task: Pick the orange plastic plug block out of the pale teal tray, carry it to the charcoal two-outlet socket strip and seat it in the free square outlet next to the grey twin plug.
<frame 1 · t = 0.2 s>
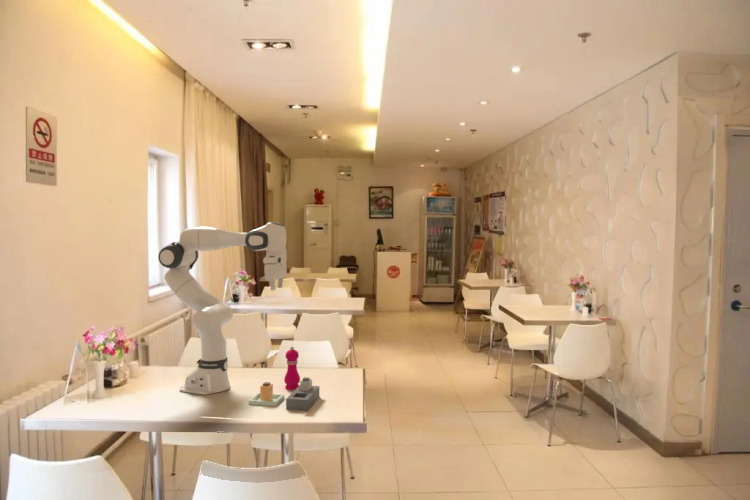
hand: (276, 288, 225), 47 cm above the table, fingers open, 8 cm apart
tray: (266, 402, 213), on the table
twin plug: (306, 400, 216), resting on socket strip
plug: (266, 401, 213), point 1 cm above the table, touching tray
pepper mill: (292, 389, 231), on the table
socket strip: (303, 403, 212), on the table
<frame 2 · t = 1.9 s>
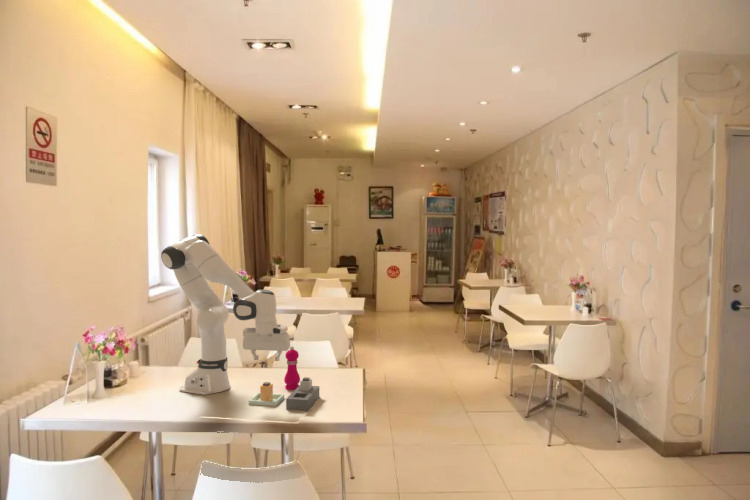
hand: (266, 360, 213), 18 cm above the table, fingers open, 8 cm apart
nothing on the table moved.
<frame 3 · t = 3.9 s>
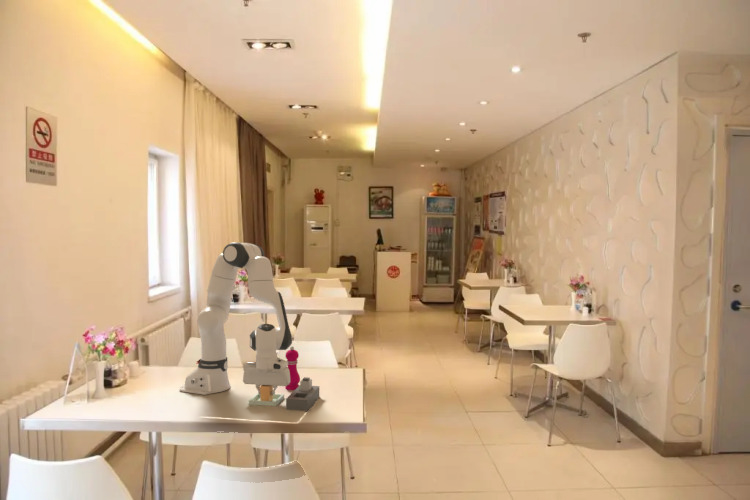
hand: (266, 394, 213), 3 cm above the table, fingers closed on plug, 4 cm apart
plug: (266, 401, 213), point 1 cm above the table, touching gripper, tray
everything else where it was.
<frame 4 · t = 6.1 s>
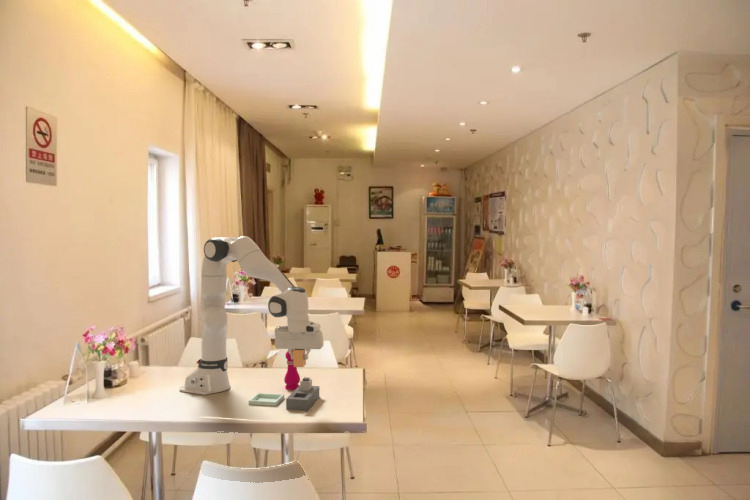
hand: (299, 359, 207), 20 cm above the table, fingers closed on plug, 4 cm apart
plug: (299, 365, 207), point 17 cm above the table, touching gripper
everything else where it was.
when the fingers open (6 cm above the table, at t = 8.4 s): plug stays where it is, resting on socket strip.
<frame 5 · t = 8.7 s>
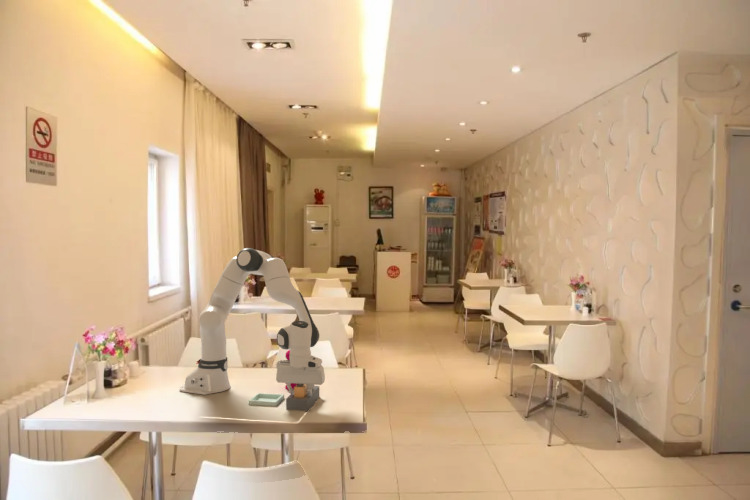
hand: (300, 393, 208), 6 cm above the table, fingers open, 6 cm apart
plug: (300, 402, 208), point 2 cm above the table, touching socket strip
everything else where it was.
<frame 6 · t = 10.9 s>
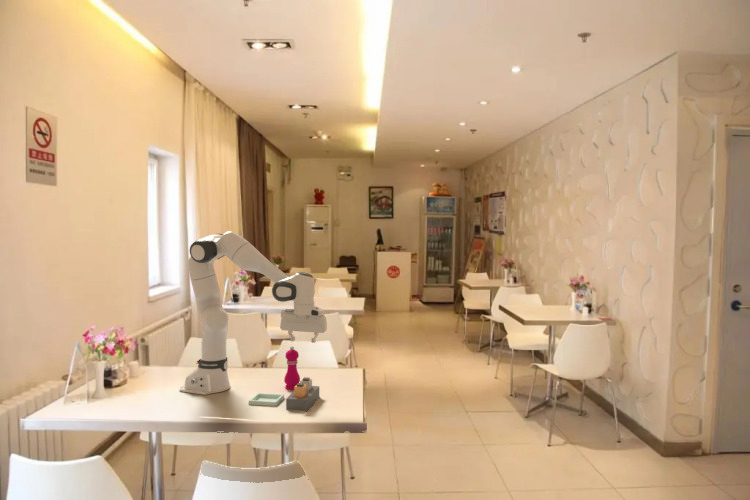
hand: (303, 341, 217), 25 cm above the table, fingers open, 8 cm apart
nothing on the table moved.
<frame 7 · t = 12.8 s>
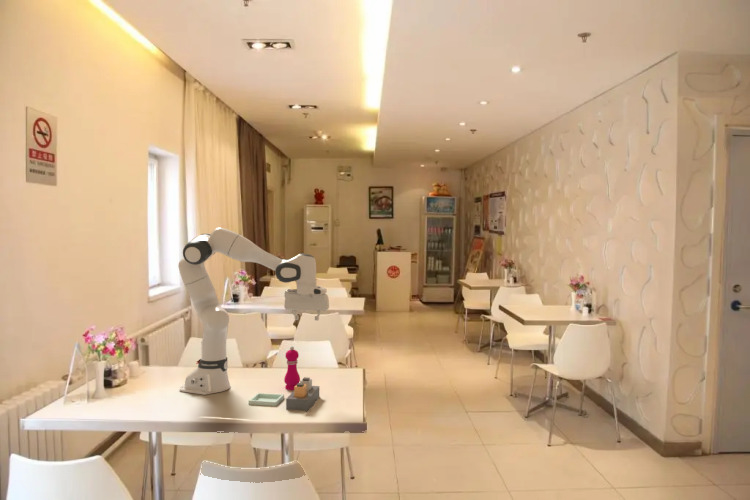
hand: (306, 319, 226), 33 cm above the table, fingers open, 8 cm apart
nothing on the table moved.
at the end: plug 0.1 cm from the target spot on the socket strip, point 2.0 cm above the socket strip's base; plug tilted 0°; the gripper is holding nothing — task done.
